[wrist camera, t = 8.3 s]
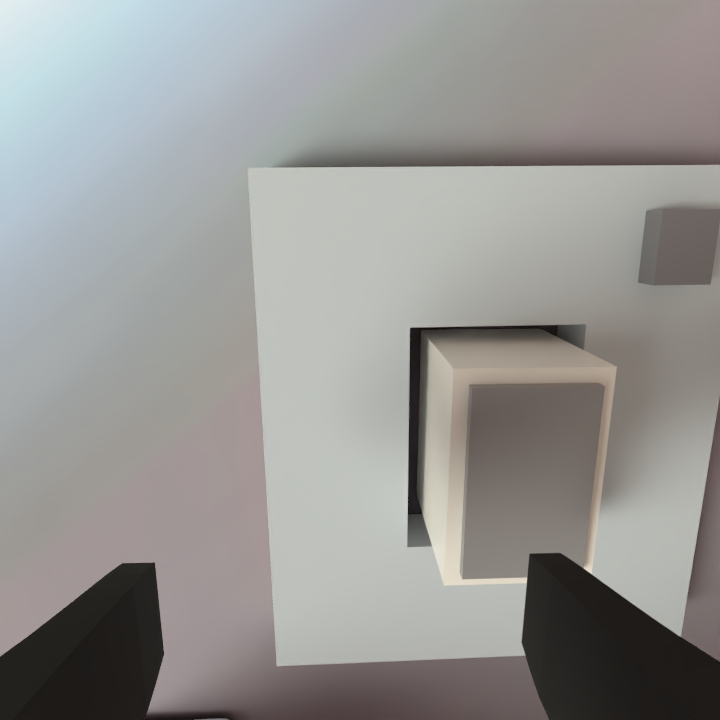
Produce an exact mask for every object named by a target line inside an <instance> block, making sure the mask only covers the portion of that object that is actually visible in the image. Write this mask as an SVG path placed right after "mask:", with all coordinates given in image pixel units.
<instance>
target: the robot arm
mask: <svg viewBox="0 0 720 720" xmlns="http://www.w3.org/2000/svg"><path fill="white" fill-rule="evenodd" d="M521 643H522V646H523V649H524V652H525V655H526V659H527V662H528V665H529V668H530V671H531V674H532V677H533V680H534V683H535V686H536V689H537V692H538V695H539V697H540V700H541V702H542V704H543V706H544V709H545V711H546V713H547V715H548V718H549V720H720V662H719V661H717V660H716V659H714V658H713V657H711V656H710V655H708V654H707V653H705V652H703V651H702V650H700V649H699V648H697V647H696V646H694V645H692V644H691V643H689V642H688V641H686V640H685V639H683V638H682V637H680V636H679V635H677V634H676V633H674V632H673V631H671V630H670V629H668V628H667V627H665V626H664V625H662V624H661V623H659V622H658V621H656V620H655V619H653V618H652V617H651V616H649V615H648V614H646V613H645V612H643V611H642V610H641V609H639V608H638V607H636V606H635V605H633V604H632V603H631V602H629V601H628V600H627V599H625V598H624V597H622V596H621V595H620V594H618V593H617V592H615V591H614V590H613V589H611V588H610V587H609V586H607V585H606V584H604V583H603V582H602V581H600V580H599V579H597V578H596V577H595V576H593V575H592V574H591V573H589V572H588V571H586V570H585V569H584V568H582V567H581V566H579V565H578V564H577V563H575V562H574V561H572V560H571V559H569V558H568V557H566V556H565V555H563V554H561V553H531V554H529V564H528V575H527V586H526V598H525V609H524V620H523V631H522V642H521ZM163 656H164V650H163V640H162V630H161V620H160V610H159V600H158V590H157V580H156V570H155V563H123V564H121V565H119V566H118V567H117V568H115V569H114V570H112V571H111V572H110V573H108V574H107V575H106V576H104V577H103V578H102V579H101V580H99V581H98V582H97V583H96V584H94V585H93V586H92V587H91V588H89V589H88V590H87V591H85V592H84V593H83V594H82V595H80V596H79V597H78V598H77V599H75V600H74V601H73V602H72V603H70V604H69V605H68V606H67V607H65V608H64V609H63V610H61V611H60V612H59V613H58V614H56V615H55V616H54V617H52V618H51V619H50V620H49V621H47V622H46V623H45V624H43V625H42V626H41V627H40V628H38V629H37V630H36V631H34V632H33V633H32V634H31V635H29V636H28V637H27V638H25V639H24V640H23V641H21V642H20V643H18V644H17V645H16V646H14V647H13V648H12V649H10V650H9V651H7V652H6V653H5V654H3V655H2V656H0V720H144V718H145V716H146V713H147V711H148V708H149V704H150V701H151V698H152V694H153V691H154V688H155V684H156V681H157V677H158V674H159V670H160V666H161V663H162V659H163ZM196 720H228V719H224V718H218V719H196Z"/></svg>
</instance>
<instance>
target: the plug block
mask: <svg viewBox="0 0 720 720" xmlns="http://www.w3.org/2000/svg"><path fill="white" fill-rule="evenodd" d="M616 370H617V366H615V365H613V364H611V363H609V362H607V361H605V360H603V359H601V358H599V357H597V356H594V355H592V354H590V353H588V352H586V351H584V350H582V349H580V348H578V347H576V346H574V345H572V344H570V343H568V342H566V341H564V340H562V339H560V338H558V337H556V336H554V335H552V334H550V333H548V332H546V331H544V330H542V329H459V330H421V359H420V396H419V432H418V469H417V497H418V501H419V504H420V507H421V511H422V514H423V517H424V521H425V524H426V527H427V531H428V534H429V537H430V541H431V544H432V547H433V551H434V554H435V557H436V560H437V564H438V567H439V570H440V574H441V577H442V580H443V584H444V586H448V585H481V584H514V583H527V575H528V564H529V554H531V553H561V554H563V555H565V556H566V557H568V558H569V559H571V560H572V561H574V562H575V563H577V564H578V565H579V566H581V567H582V568H584V569H585V570H586V571H588V572H589V573H591V574H592V568H593V560H594V551H595V543H596V535H597V527H598V518H599V510H600V502H601V494H602V485H603V477H604V469H605V461H606V452H607V444H608V436H609V428H610V419H611V411H612V403H613V395H614V386H615V378H616Z"/></svg>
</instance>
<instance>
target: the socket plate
mask: <svg viewBox="0 0 720 720" xmlns="http://www.w3.org/2000/svg"><path fill="white" fill-rule="evenodd" d="M248 183H249V200H250V217H251V234H252V251H253V268H254V285H255V303H256V320H257V337H258V354H259V371H260V388H261V405H262V422H263V439H264V456H265V473H266V490H267V508H268V525H269V542H270V559H271V576H272V593H273V610H274V627H275V644H276V661H277V666H296V665H319V664H342V663H365V662H388V661H411V660H434V659H457V658H480V657H503V656H526V655H525V652H524V649H523V646H522V643H521V642H522V631H523V620H524V609H525V598H526V586H527V583H514V584H481V585H448V586H444V584H443V580H442V577H441V574H440V570H439V567H438V564H437V560H436V557H435V554H434V551H433V547H432V544H431V541H430V537H429V534H428V531H427V527H426V524H425V521H424V517H423V514H408V448H409V370H410V328H414V327H469V326H524V325H558V327H557V337H558V338H560V339H562V340H564V341H566V342H568V343H570V344H572V345H574V346H576V347H578V348H580V349H582V350H584V351H586V352H588V353H590V354H592V355H594V356H597V357H599V358H601V359H603V360H605V361H607V362H609V363H611V364H613V365H615V366H617V370H616V378H615V386H614V395H613V403H612V411H611V419H610V428H609V436H608V444H607V452H606V461H605V469H604V477H603V485H602V494H601V502H600V510H599V518H598V527H597V535H596V543H595V551H594V560H593V568H592V575H593V576H595V577H596V578H597V579H599V580H600V581H602V582H603V583H604V584H606V585H607V586H609V587H610V588H611V589H613V590H614V591H615V592H617V593H618V594H620V595H621V596H622V597H624V598H625V599H627V600H628V601H629V602H631V603H632V604H633V605H635V606H636V607H638V608H639V609H641V610H642V611H643V612H645V613H646V614H648V615H649V616H651V617H652V618H653V619H655V620H656V621H658V622H659V623H661V624H662V625H664V626H665V627H667V628H668V629H670V630H671V631H673V632H674V633H676V634H677V635H679V636H680V637H681V632H682V626H683V620H684V614H685V607H686V601H687V595H688V589H689V583H690V577H691V570H692V564H693V558H694V552H695V546H696V540H697V533H698V527H699V521H700V515H701V509H702V503H703V496H704V490H705V484H706V478H707V472H708V466H709V460H710V453H711V447H712V441H713V435H714V429H715V423H716V416H717V410H718V404H719V398H720V165H619V166H457V167H295V168H248Z"/></svg>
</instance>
